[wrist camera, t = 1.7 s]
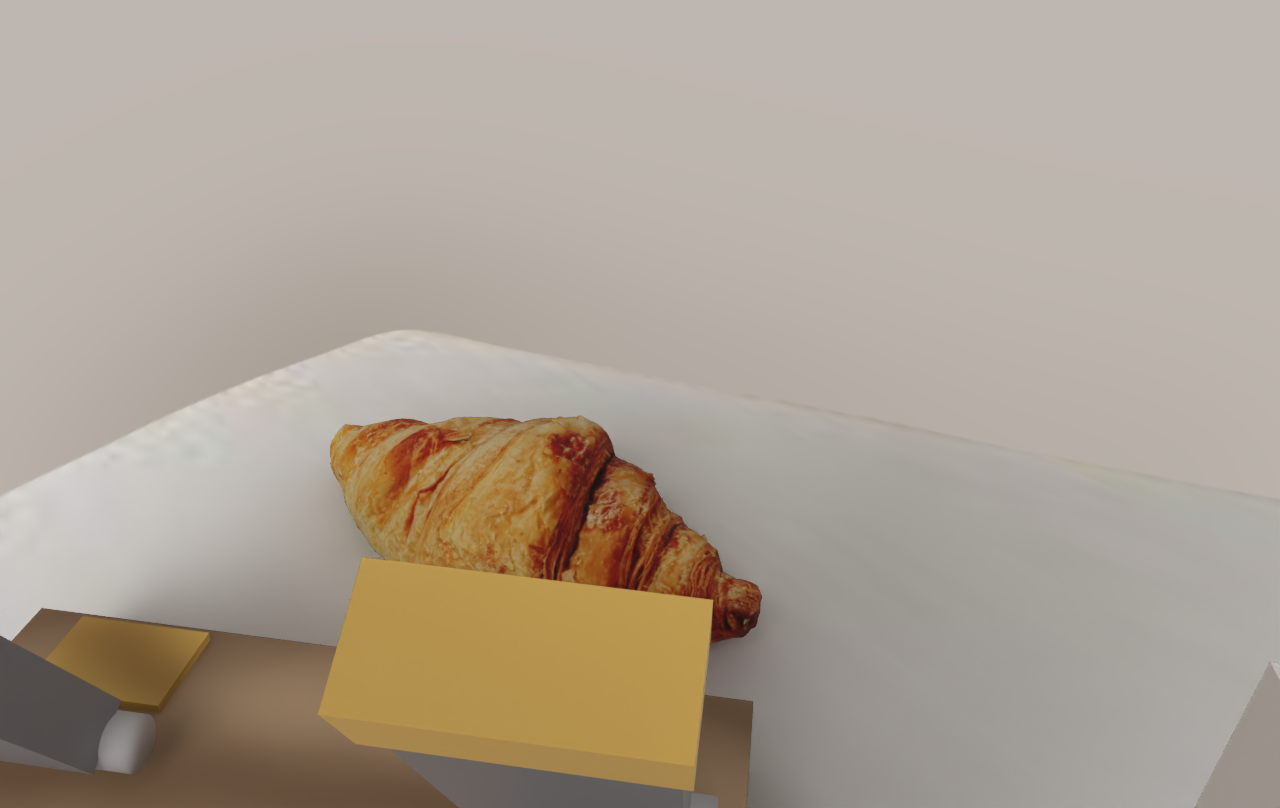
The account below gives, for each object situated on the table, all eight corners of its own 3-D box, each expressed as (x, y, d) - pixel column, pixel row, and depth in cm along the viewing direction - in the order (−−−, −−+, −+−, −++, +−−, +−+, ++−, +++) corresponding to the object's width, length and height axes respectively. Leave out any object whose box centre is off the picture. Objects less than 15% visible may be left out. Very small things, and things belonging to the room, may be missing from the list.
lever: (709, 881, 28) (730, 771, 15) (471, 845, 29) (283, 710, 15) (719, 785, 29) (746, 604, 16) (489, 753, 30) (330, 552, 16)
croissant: (302, 567, 48) (205, 478, 42) (425, 395, 53) (354, 290, 46) (717, 768, 39) (672, 691, 33) (826, 539, 43) (805, 432, 37)
